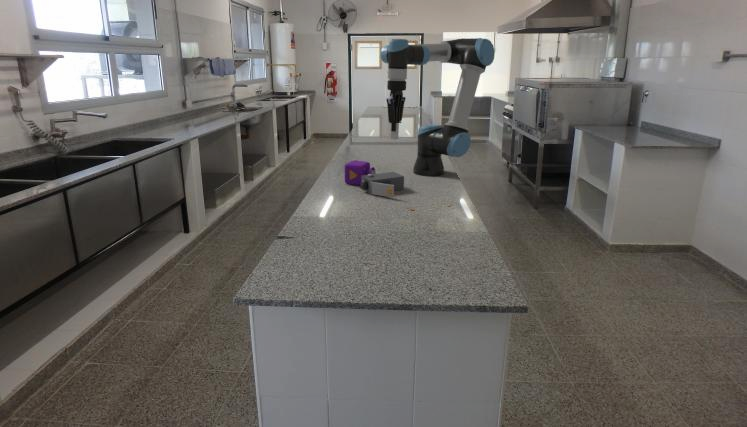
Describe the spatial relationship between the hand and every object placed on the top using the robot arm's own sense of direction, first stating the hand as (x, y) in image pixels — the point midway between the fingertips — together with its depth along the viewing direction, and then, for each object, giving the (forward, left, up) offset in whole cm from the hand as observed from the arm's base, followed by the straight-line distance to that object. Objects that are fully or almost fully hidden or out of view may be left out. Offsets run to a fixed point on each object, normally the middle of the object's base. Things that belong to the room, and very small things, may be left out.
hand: (394, 139), depth 202 cm
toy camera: (+7, -18, -23) cm, 30 cm away
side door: (+8, +5, -22) cm, 24 cm away
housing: (+3, -5, -23) cm, 23 cm away
